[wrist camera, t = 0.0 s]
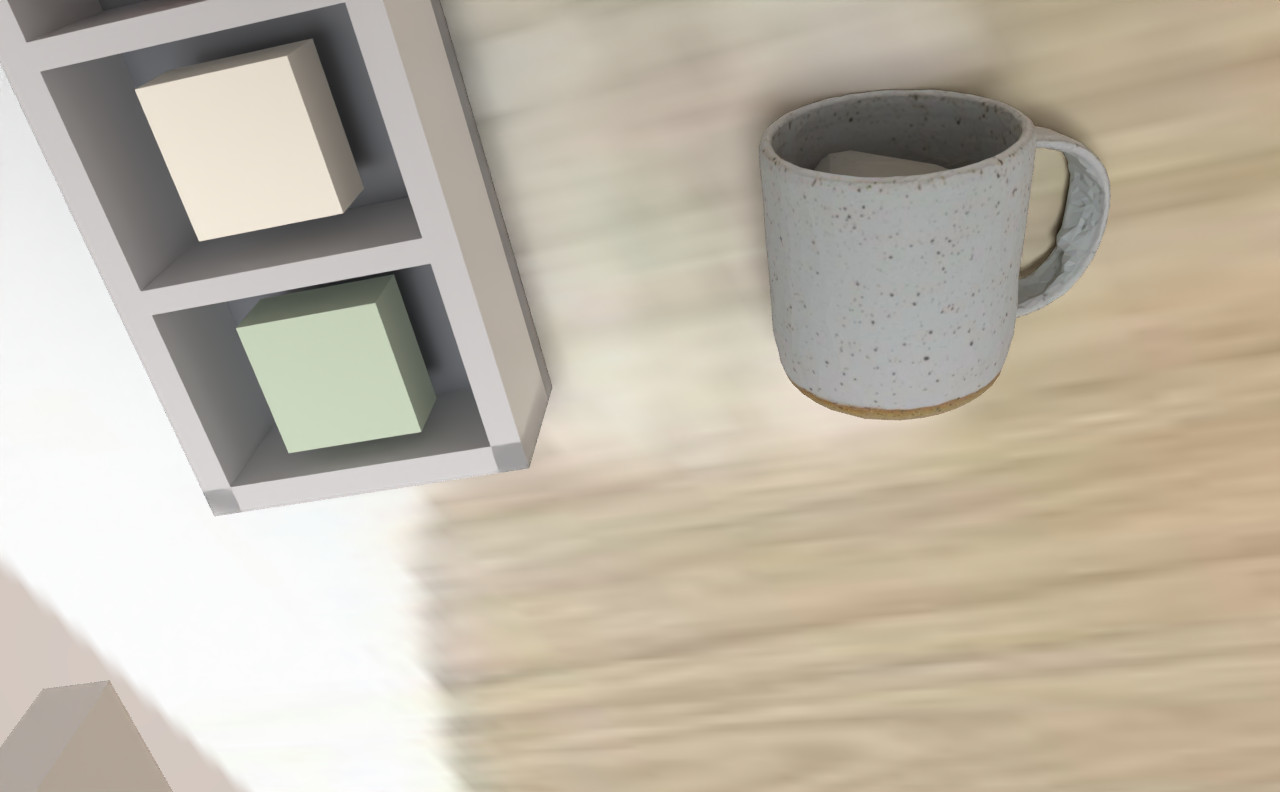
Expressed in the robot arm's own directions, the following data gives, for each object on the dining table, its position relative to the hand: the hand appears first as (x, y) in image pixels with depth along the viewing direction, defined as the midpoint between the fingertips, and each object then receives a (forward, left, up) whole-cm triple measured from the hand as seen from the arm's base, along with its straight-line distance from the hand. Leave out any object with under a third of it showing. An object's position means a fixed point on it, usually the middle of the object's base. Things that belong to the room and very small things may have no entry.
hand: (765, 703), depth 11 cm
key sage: (+6, -14, -25) cm, 30 cm away
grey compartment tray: (-1, -14, -28) cm, 31 cm away
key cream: (-1, -14, -25) cm, 29 cm away
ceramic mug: (+6, +5, -28) cm, 29 cm away
